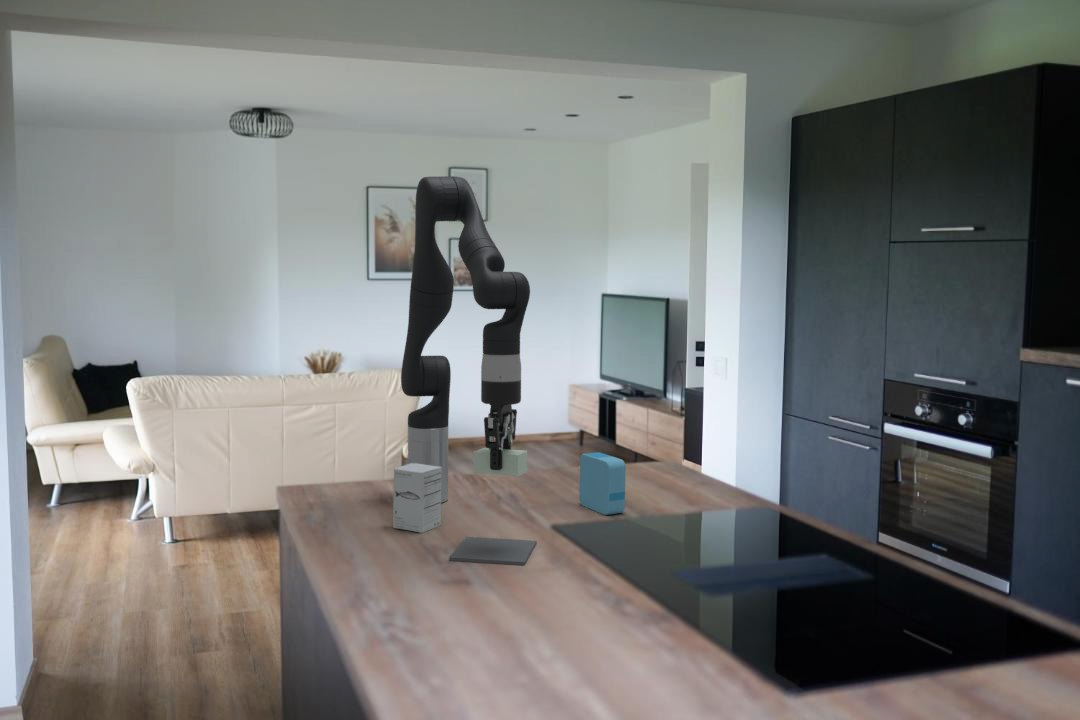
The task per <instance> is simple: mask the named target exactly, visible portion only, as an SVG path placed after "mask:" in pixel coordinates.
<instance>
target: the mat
mask: <svg viewBox="0 0 1080 720" xmlns="http://www.w3.org/2000/svg"><path fill="white" fill-rule="evenodd" d="M536 546H537V540H528V539H515V538H513V539H512V538H511V539H510V538H497V537H496V538H494V537H478V536H466V537H465V538H464V539H463V541H462V542H461V543H460V544H459V545H458V547H456V549H454V551H453V552H452V554H451V555H450V556H449V558H448V559H449V561H453V562H468V563H482V564H483V563H485V564H498V565H500V564H501V565H515V566H526V564H527V561H528V560H529V558H530V556H531V555H532V552H533V551H534V549H535V548H536Z"/></svg>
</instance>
